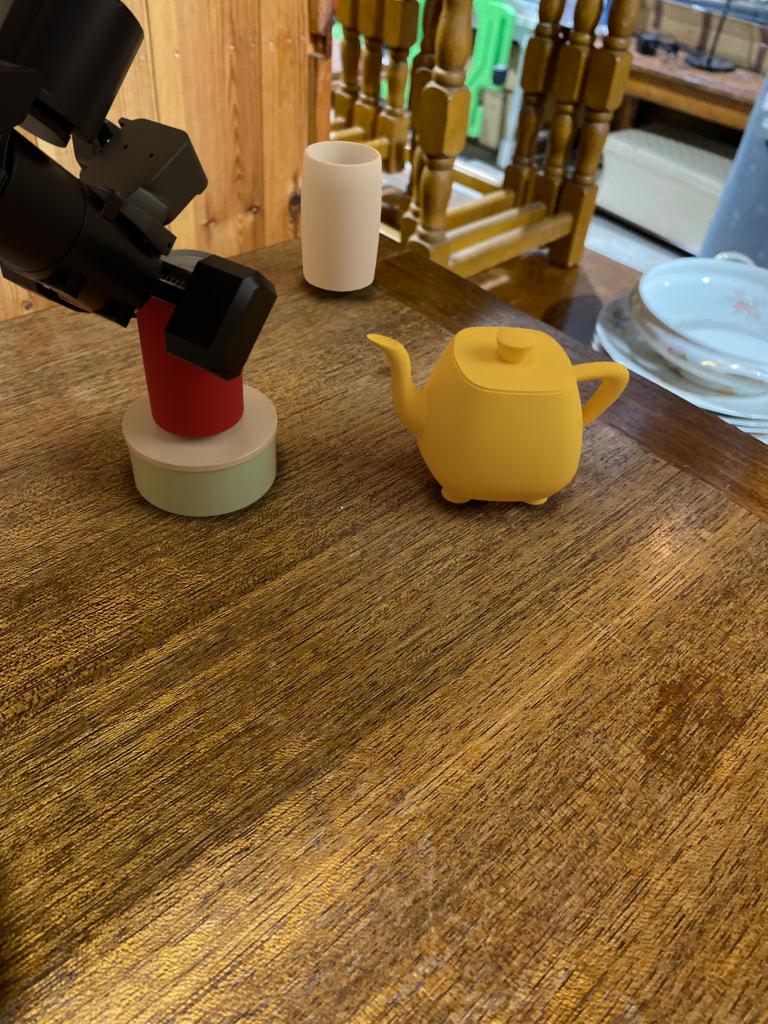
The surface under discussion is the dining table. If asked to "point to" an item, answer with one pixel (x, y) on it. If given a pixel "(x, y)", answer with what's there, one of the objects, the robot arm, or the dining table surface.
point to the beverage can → (184, 374)
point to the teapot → (500, 412)
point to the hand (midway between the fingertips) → (206, 331)
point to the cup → (340, 214)
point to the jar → (203, 460)
